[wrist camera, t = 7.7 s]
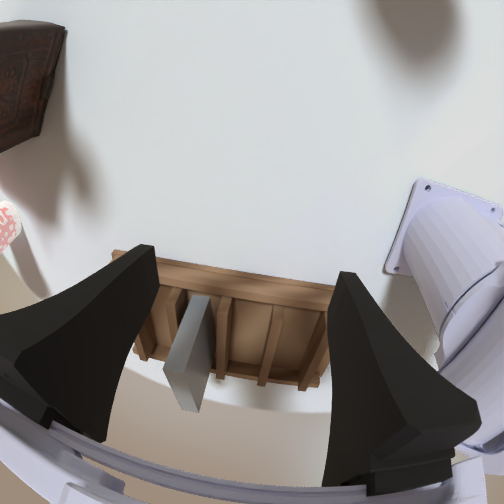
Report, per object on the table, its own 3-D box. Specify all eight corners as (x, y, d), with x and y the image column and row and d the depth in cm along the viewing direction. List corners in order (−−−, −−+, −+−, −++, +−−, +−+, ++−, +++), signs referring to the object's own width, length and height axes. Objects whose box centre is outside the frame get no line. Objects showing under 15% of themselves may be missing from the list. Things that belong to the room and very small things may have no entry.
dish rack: (361, 289, 23) (368, 320, 20) (321, 372, 30) (321, 399, 27) (114, 249, 24) (94, 273, 21) (137, 338, 32) (125, 361, 29)
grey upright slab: (210, 296, 25) (183, 373, 18) (216, 345, 29) (198, 412, 22) (192, 294, 25) (162, 369, 18) (202, 343, 29) (181, 409, 22)
